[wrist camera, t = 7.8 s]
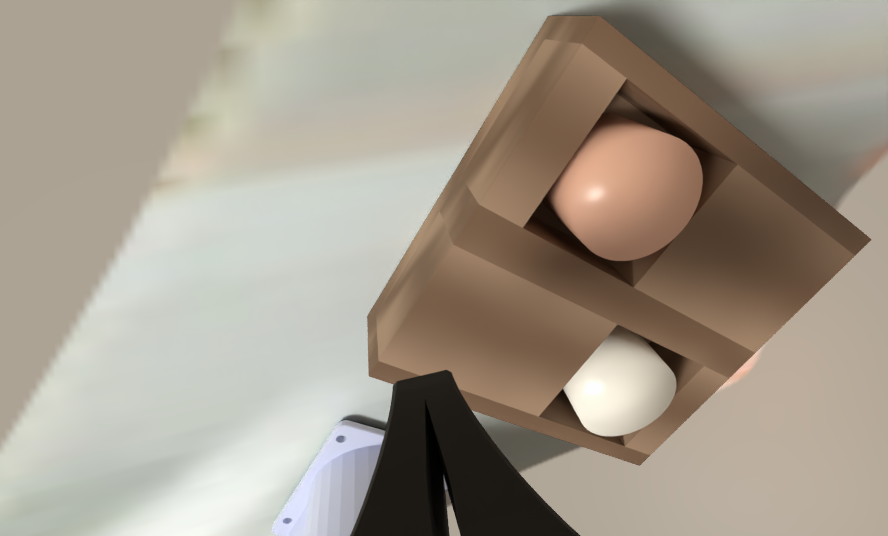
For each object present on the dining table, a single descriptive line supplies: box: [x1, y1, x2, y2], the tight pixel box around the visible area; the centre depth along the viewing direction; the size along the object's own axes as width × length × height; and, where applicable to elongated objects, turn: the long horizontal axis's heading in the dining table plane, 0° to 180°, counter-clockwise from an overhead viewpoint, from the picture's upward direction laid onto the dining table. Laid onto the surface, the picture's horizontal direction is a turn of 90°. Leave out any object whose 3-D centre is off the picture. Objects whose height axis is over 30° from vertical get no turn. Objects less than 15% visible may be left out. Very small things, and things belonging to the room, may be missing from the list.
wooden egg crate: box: [367, 16, 871, 465], centre depth 19 cm, size 14×15×4 cm
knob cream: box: [563, 325, 676, 436], centre depth 21 cm, size 4×4×3 cm
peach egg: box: [543, 113, 703, 261], centre depth 16 cm, size 4×4×3 cm
